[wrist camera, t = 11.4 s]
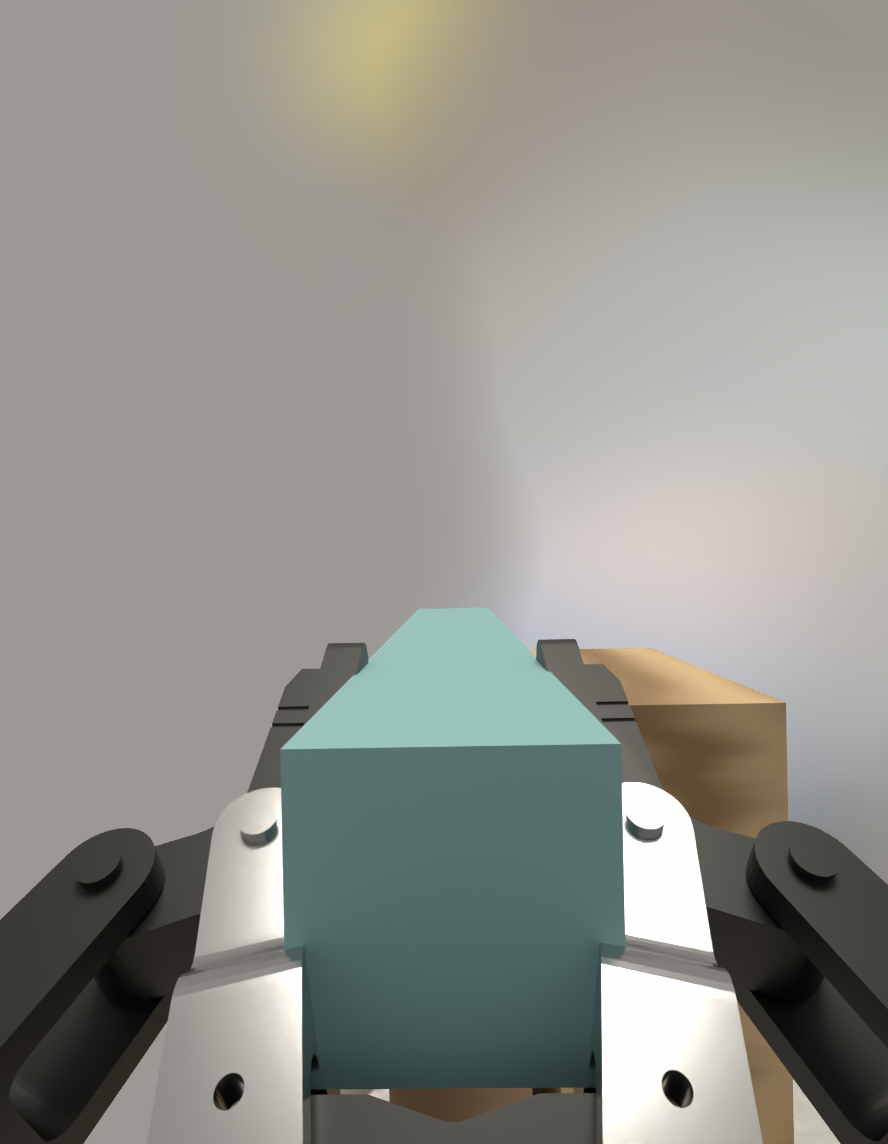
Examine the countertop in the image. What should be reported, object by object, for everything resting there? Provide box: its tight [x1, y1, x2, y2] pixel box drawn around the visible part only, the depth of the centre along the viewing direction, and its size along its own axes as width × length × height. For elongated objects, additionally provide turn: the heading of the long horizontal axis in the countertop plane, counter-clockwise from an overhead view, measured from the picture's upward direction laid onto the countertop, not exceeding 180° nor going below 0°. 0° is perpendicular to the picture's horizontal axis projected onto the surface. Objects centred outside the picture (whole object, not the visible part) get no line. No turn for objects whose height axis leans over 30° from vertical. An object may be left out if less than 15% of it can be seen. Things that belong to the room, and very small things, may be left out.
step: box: [389, 1088, 533, 1122], centre depth 28 cm, size 5×14×22 cm, turn 179°
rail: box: [280, 608, 626, 1089], centre depth 18 cm, size 4×24×4 cm, turn 179°
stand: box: [530, 648, 794, 1144], centre depth 27 cm, size 8×14×32 cm, turn 179°
